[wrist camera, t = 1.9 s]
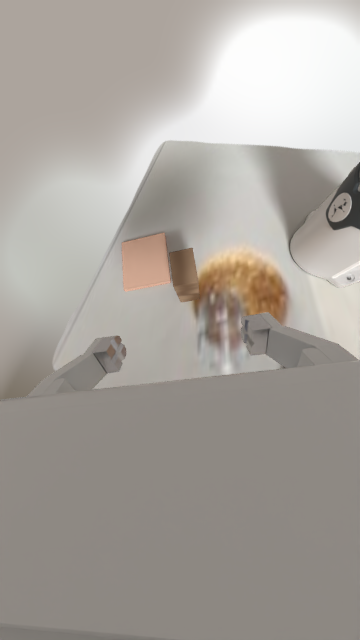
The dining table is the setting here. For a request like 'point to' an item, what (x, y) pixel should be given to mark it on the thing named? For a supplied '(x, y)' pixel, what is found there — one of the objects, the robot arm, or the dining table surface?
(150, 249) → the mat
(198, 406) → the robot arm
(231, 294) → the dining table surface
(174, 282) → the card box
